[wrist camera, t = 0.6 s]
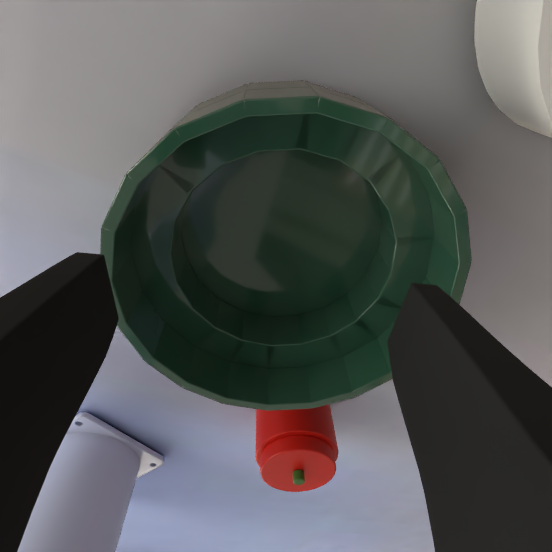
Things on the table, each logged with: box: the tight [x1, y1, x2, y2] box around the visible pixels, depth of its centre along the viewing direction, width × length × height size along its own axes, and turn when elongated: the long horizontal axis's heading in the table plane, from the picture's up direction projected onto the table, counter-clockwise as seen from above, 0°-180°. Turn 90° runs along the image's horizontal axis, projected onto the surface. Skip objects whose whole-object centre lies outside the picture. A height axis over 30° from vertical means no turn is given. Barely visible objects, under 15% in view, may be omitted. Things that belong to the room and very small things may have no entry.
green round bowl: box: [100, 80, 471, 411], centre depth 17 cm, size 15×15×6 cm
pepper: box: [256, 404, 338, 492], centre depth 24 cm, size 5×5×6 cm
